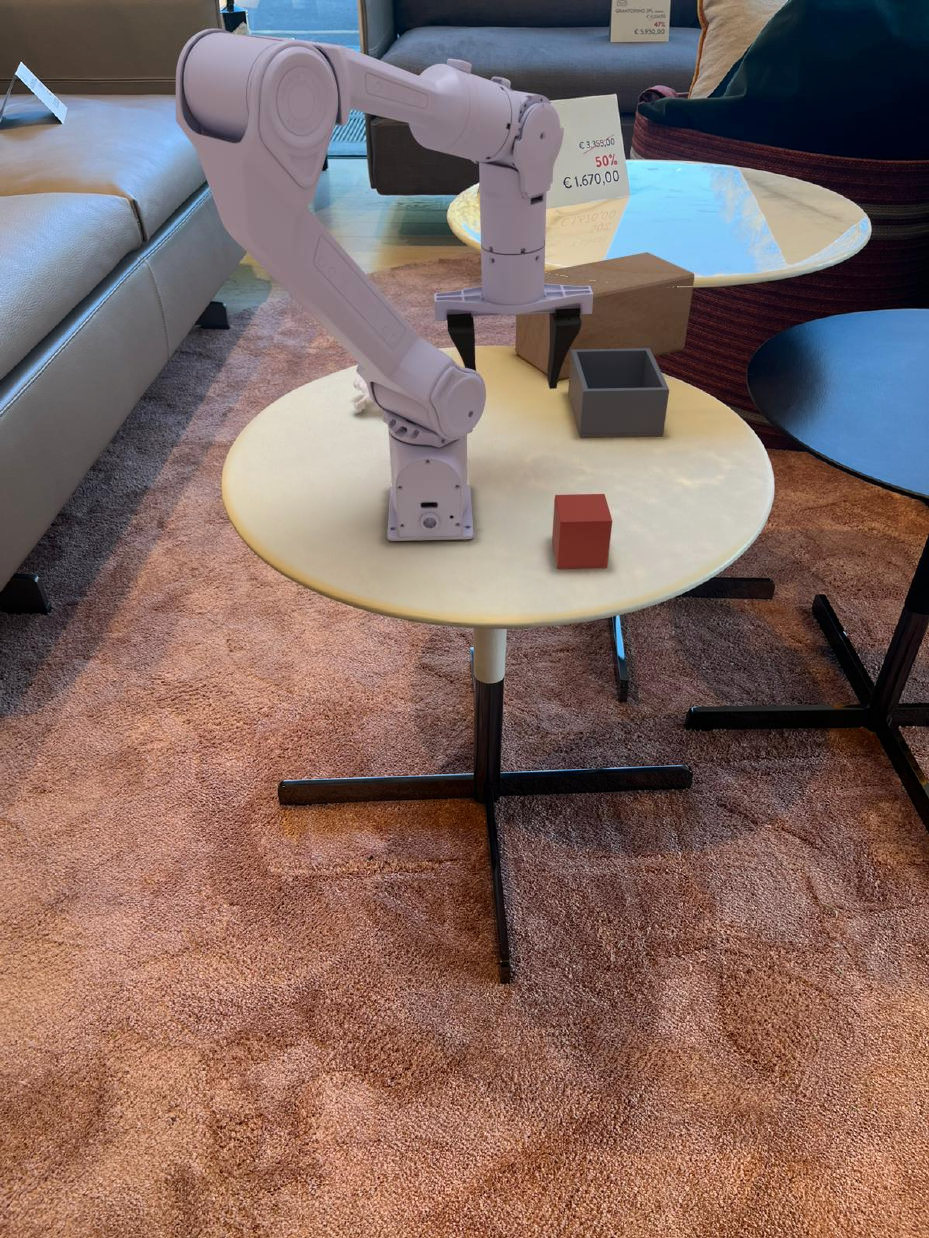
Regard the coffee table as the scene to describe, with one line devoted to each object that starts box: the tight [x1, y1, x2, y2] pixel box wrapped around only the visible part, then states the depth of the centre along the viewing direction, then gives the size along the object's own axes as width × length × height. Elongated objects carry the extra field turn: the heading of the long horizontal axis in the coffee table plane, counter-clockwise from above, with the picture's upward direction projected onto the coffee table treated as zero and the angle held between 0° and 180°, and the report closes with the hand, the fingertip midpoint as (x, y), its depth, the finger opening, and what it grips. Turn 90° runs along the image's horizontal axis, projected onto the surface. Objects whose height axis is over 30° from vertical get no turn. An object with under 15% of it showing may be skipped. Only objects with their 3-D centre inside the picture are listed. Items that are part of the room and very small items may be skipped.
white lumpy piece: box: [352, 376, 371, 413], centre depth 107 cm, size 8×4×7 cm
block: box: [551, 493, 613, 570], centre depth 82 cm, size 4×4×5 cm
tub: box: [567, 348, 670, 439], centre depth 104 cm, size 11×9×6 cm
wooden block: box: [514, 251, 695, 380], centre depth 117 cm, size 10×10×20 cm
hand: (513, 386), depth 91 cm, fingers open, 7 cm apart
